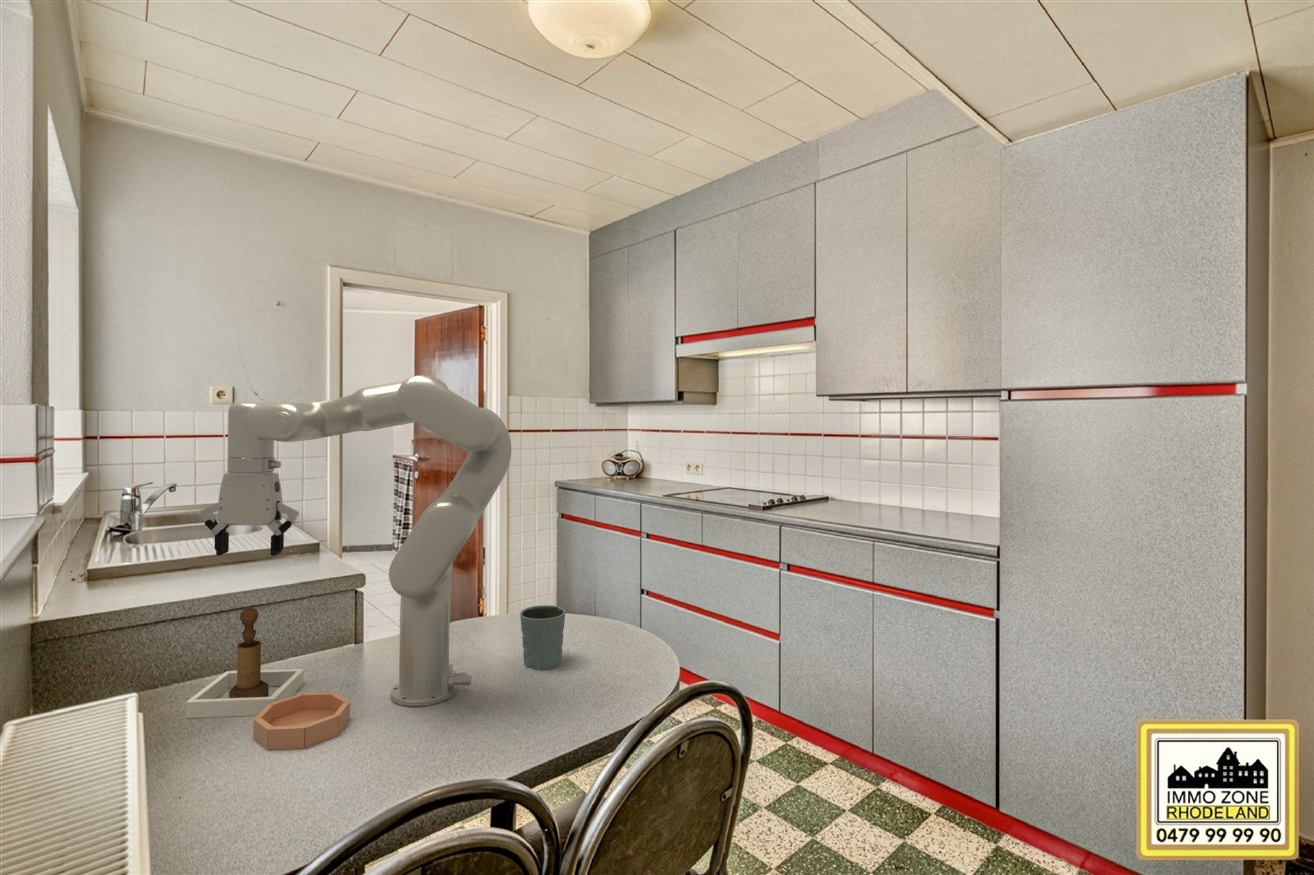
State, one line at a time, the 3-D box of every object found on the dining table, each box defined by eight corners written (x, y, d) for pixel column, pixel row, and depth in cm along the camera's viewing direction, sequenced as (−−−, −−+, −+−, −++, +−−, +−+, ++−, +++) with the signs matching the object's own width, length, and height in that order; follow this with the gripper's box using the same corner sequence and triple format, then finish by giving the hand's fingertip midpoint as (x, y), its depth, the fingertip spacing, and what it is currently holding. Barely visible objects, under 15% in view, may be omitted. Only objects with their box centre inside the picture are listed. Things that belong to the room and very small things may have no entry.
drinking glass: (573, 661, 148) (574, 610, 147) (543, 675, 139) (544, 621, 139) (540, 651, 153) (541, 602, 153) (509, 665, 144) (510, 612, 144)
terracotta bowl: (357, 709, 121) (357, 691, 121) (330, 747, 108) (330, 727, 108) (278, 712, 120) (278, 694, 119) (241, 751, 106) (241, 730, 106)
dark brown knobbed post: (248, 709, 120) (248, 615, 120) (220, 705, 122) (220, 612, 121) (276, 694, 127) (276, 605, 126) (248, 690, 128) (249, 602, 128)
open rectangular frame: (304, 683, 132) (304, 669, 132) (273, 714, 118) (273, 699, 118) (226, 685, 130) (226, 671, 130) (185, 718, 116) (185, 702, 116)
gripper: (306, 466, 128) (304, 550, 128) (212, 463, 125) (211, 549, 126) (290, 469, 120) (288, 558, 121) (190, 466, 118) (189, 558, 118)
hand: (249, 554), depth 123 cm, fingers open, 9 cm apart
